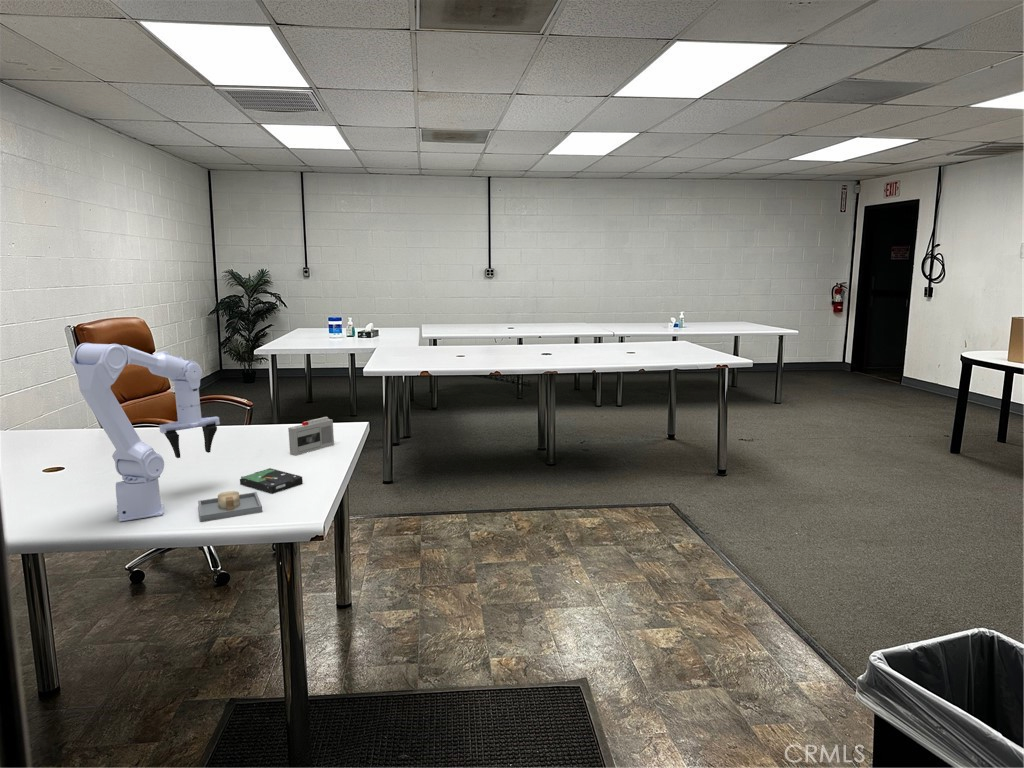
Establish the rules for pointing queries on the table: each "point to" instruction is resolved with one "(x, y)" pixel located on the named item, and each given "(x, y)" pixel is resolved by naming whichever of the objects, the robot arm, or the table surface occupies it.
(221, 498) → the tabbed cylinder
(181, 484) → the table surface
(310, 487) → the table surface
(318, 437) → the cassette player
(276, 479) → the disk drive
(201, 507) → the tray
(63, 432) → the table surface
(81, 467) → the table surface
